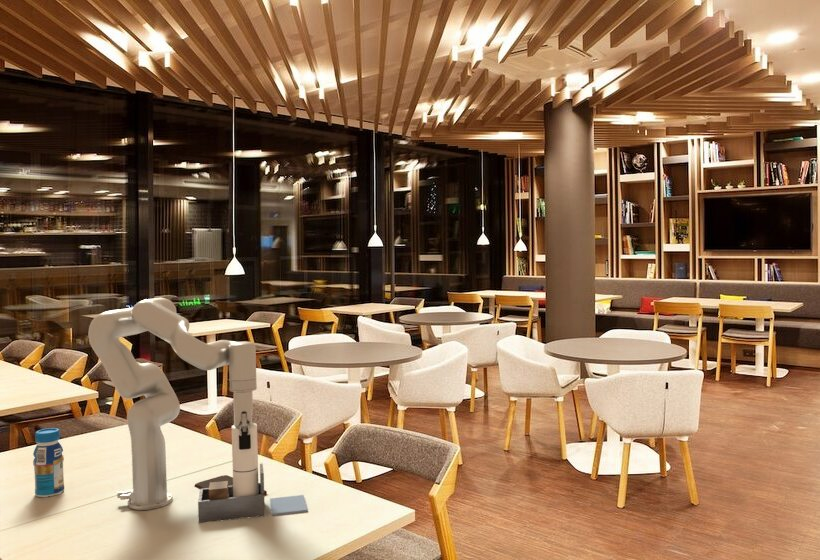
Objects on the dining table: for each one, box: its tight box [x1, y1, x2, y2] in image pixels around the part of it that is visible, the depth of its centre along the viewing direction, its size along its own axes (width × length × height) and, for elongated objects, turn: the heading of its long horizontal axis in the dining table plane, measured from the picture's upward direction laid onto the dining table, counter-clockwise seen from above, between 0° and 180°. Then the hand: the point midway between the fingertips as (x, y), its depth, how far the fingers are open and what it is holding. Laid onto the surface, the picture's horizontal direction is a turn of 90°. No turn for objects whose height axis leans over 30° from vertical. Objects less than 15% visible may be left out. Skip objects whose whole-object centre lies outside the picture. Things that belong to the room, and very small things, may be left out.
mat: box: [269, 494, 308, 516], centre depth 194 cm, size 10×12×1 cm
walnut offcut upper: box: [209, 481, 228, 500], centre depth 188 cm, size 5×6×4 cm
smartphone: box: [194, 474, 268, 496], centre depth 208 cm, size 12×2×25 cm
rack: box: [197, 463, 266, 524], centre depth 189 cm, size 18×11×12 cm, turn 105°
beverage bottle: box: [32, 427, 65, 498], centre depth 207 cm, size 8×8×20 cm
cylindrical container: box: [231, 422, 259, 497], centre depth 190 cm, size 7×7×25 cm
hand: (244, 444), depth 190 cm, fingers open, 8 cm apart
